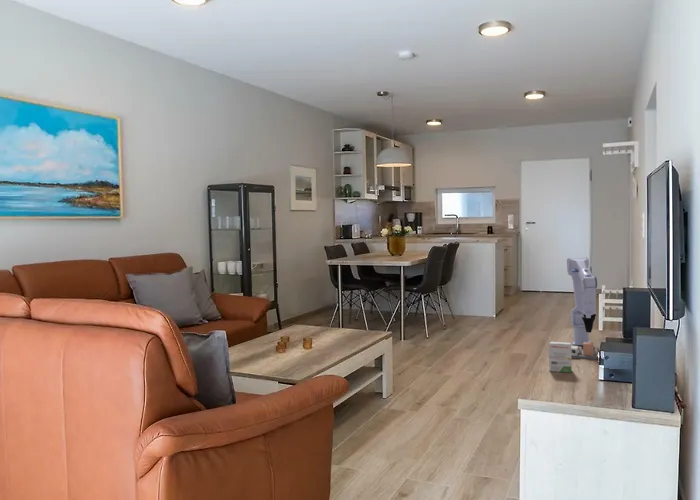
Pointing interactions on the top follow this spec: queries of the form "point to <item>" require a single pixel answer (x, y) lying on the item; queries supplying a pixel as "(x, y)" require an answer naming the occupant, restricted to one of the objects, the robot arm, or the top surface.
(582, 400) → the top surface
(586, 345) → the block
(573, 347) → the cover
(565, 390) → the top surface
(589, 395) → the top surface
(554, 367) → the ink box
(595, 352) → the deck
